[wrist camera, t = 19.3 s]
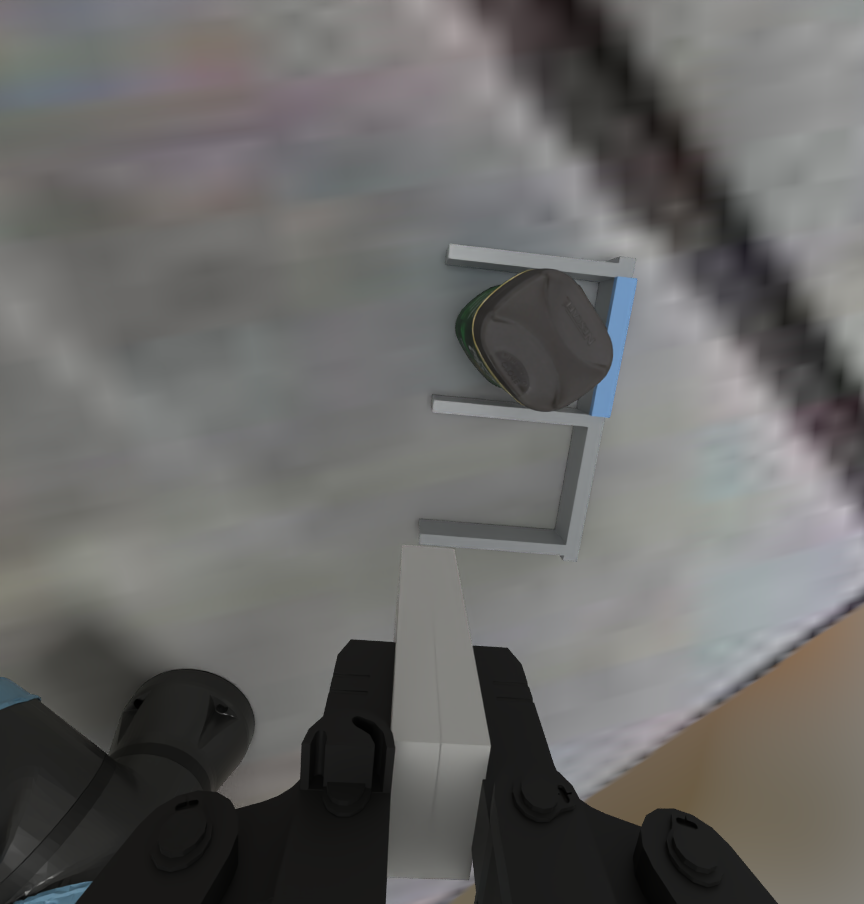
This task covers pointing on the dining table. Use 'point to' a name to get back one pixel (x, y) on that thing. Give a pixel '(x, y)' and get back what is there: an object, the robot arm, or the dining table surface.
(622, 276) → the divided storage rack
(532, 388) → the coffee jar
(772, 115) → the dining table surface
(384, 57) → the dining table surface
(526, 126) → the dining table surface
